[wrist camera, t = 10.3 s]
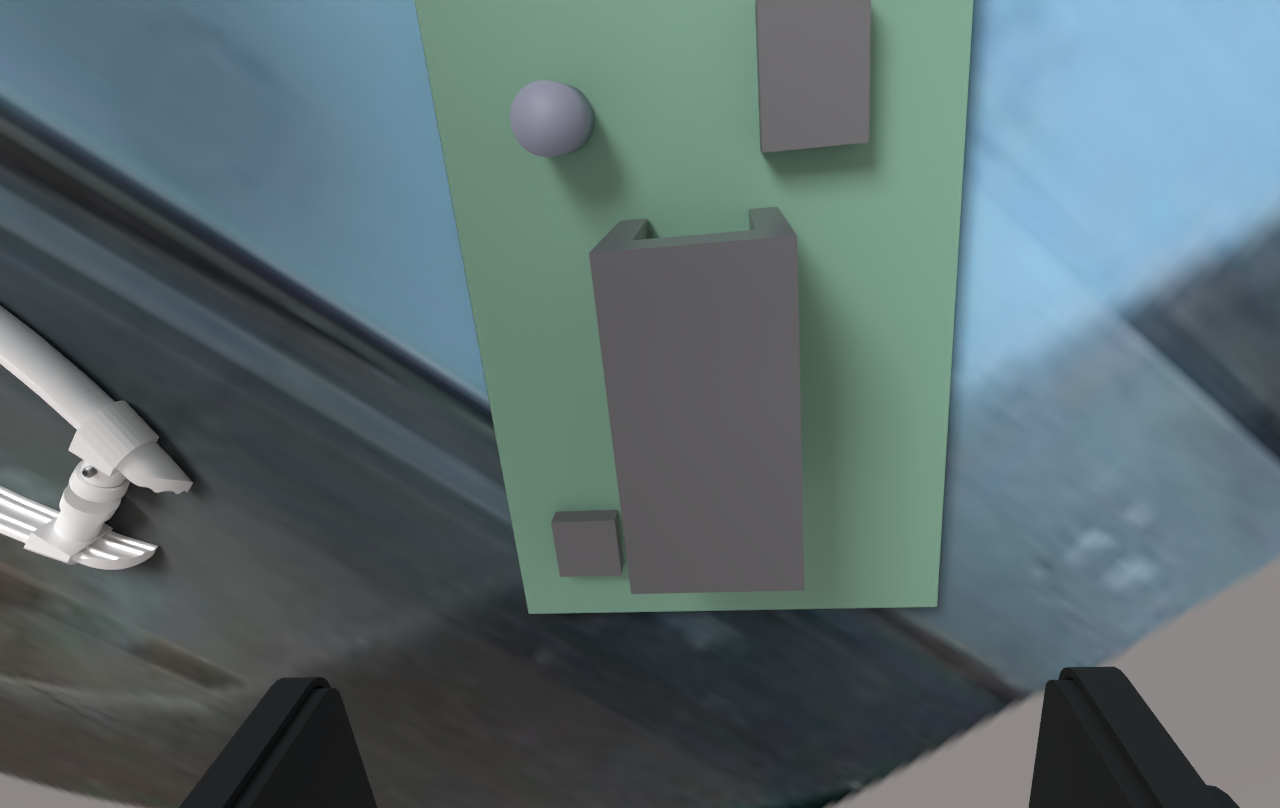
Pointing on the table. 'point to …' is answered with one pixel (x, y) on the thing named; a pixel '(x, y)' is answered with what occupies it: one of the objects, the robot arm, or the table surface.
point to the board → (704, 204)
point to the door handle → (110, 461)
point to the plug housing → (705, 404)
